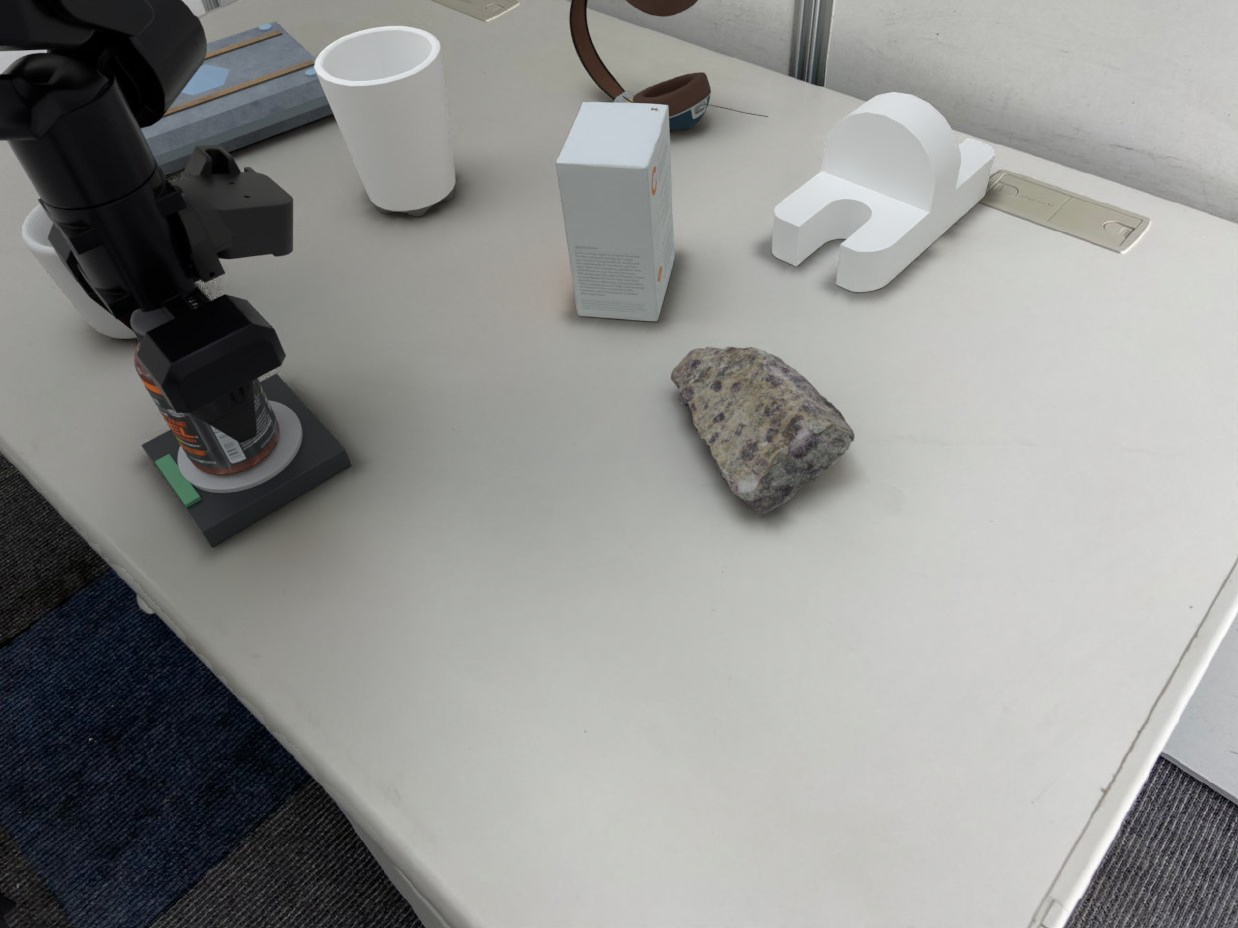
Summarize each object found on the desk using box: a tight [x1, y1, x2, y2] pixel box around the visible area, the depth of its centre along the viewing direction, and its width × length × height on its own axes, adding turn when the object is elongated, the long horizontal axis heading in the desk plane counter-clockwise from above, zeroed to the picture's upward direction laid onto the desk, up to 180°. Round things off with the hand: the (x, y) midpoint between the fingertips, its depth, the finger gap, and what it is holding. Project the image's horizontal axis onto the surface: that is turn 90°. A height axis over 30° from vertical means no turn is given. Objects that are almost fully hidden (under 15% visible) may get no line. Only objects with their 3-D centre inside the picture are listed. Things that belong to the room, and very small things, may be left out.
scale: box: [141, 373, 352, 548], centre depth 64 cm, size 10×10×2 cm
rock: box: [670, 346, 856, 515], centre depth 62 cm, size 13×6×10 cm
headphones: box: [568, 0, 769, 131], centre depth 85 cm, size 6×15×22 cm
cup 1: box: [21, 203, 137, 340], centre depth 74 cm, size 13×9×9 cm
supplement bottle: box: [130, 298, 279, 475], centre depth 59 cm, size 6×6×11 cm
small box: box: [554, 101, 676, 322], centre depth 70 cm, size 8×6×13 cm
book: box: [141, 21, 334, 176], centre depth 95 cm, size 21×16×5 cm
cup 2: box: [314, 25, 456, 218], centre depth 81 cm, size 10×10×13 cm
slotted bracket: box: [771, 91, 996, 293], centre depth 74 cm, size 18×10×10 cm, turn 137°
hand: (216, 399), depth 61 cm, fingers open, 9 cm apart
